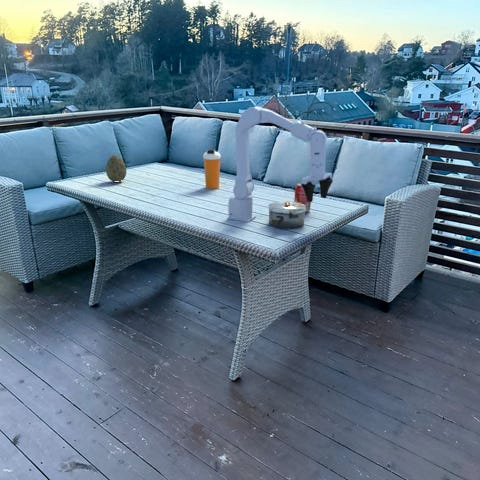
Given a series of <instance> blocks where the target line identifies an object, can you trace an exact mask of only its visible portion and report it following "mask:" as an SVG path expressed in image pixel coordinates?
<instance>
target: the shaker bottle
mask: <svg viewBox="0 0 480 480" xmlns="http://www.w3.org/2000/svg"><path fill="white" fill-rule="evenodd" d="M216 150H217V149H216V148H209V149H207V150H206V151H205V152H204V153H203V155H202V157H203V166H204V179H205V188H206V189H208V190H216V189H217V190H218V189H220V176H221V175H220V172H221V171H220V169H221V153H220V152H218V151H216Z"/></svg>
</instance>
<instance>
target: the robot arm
mask: <svg viewBox="0 0 480 480" xmlns="http://www.w3.org/2000/svg"><path fill="white" fill-rule="evenodd" d="M264 123H265V124H266V123H271V124H274V125H276V126H279V127H281V128H283V129H285V130H288V131H290V135H291V136H292V137H294V138H296V139H297V140H300V141H303V142H304V143H308V144H309V147H310V150H309V175H307V176H305V177H303V178H301V182H300V183H301V186H302V187H303V189H304V191H305V194H306V198H307V201H309V202H311V203H313V198H314V192H315V187H316V184H314V183H315V182H318V184H319V188H320V198H322V199H326V198H327V196H328V194H329V193H328V192H329V191H330V190H329V189H330V187H331V185H332V184H333V181H334V180H333V179H332V178H333V172H332V173H331V172H326V156H327V155H326V143H327V134H326V132H324V131H323V129H317V127H313V126H310V125H308V124H307V123H306V121H304V120H301V121H300V120H298V121H297V120H296V121H295V122H293V121H291V120H290V119H288V118H286V117H285V116H283V115H280V114H278V113H276V112H275V111H273V110H271V109H268V108H263V107H262V106H260V105H255V106H251V107H248V108H246V109H245V110H244V111H242V113H241V115H240V117H239V120H238V122H237V123H236V125H235V128H234V133H235V135H234V136H235V137H234V138H235V157H236V161H235V162H236V177H235V180H234V186H233V190H232V191H233V192H232V193H233V195H232V196H230V197H229V198H228V199H229V200H228V209H227V211H228V212H227V213H228V214H227V215H228V216H227V219H228V220H233V221H240V222H246V223H249V222H250V221H252V220H253V219H254V218H255V219H256V217H257V216H256V215H255V214H254V215H253V203H254V202H253V198H254V197H253V196H254V195H253V194H252V192H253V191H254V190H255V184H254V182H253V180H252V179H253V178H252V174H251V169H250V166H251V165H250V137H249V136H250V135H249V134H250V133H249V132H251V130H252V129H253V128H254V127H255V126H258V125H259V124H264Z"/></svg>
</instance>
